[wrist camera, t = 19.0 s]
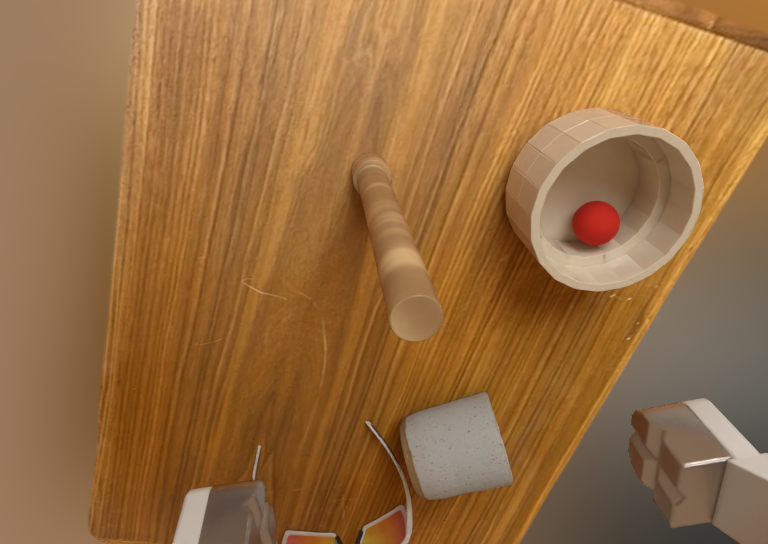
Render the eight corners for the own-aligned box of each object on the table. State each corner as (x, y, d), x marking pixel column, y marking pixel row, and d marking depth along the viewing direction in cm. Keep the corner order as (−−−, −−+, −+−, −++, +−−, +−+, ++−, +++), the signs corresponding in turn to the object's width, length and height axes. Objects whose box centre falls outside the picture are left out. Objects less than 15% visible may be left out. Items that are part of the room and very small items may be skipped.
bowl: (500, 120, 37) (530, 141, 31) (659, 94, 37) (716, 111, 31) (505, 264, 42) (531, 303, 36) (644, 240, 42) (690, 276, 37)
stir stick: (365, 145, 36) (409, 275, 19) (395, 166, 37) (466, 309, 19) (344, 176, 37) (367, 329, 19) (374, 196, 38) (423, 360, 20)
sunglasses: (284, 554, 55) (279, 598, 50) (240, 434, 50) (229, 471, 45) (419, 523, 55) (426, 565, 50) (388, 400, 50) (393, 434, 45)
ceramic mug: (390, 401, 47) (402, 471, 40) (479, 373, 46) (506, 439, 40) (422, 478, 52) (437, 551, 45) (503, 453, 52) (530, 524, 45)
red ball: (598, 213, 36) (610, 254, 37) (621, 191, 37) (633, 231, 38) (557, 215, 38) (571, 253, 40) (581, 194, 40) (593, 231, 41)
